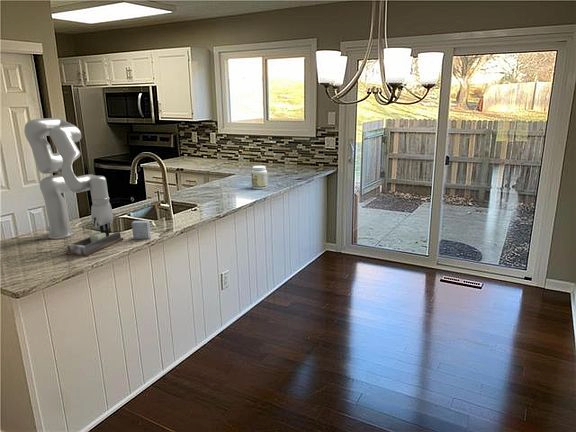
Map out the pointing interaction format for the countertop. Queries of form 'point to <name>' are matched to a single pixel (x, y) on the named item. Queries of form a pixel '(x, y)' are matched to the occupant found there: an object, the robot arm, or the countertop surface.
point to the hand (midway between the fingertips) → (105, 237)
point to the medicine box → (141, 230)
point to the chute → (93, 245)
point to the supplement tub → (259, 177)
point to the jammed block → (97, 236)
